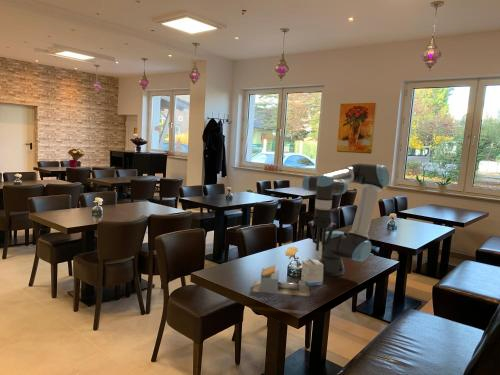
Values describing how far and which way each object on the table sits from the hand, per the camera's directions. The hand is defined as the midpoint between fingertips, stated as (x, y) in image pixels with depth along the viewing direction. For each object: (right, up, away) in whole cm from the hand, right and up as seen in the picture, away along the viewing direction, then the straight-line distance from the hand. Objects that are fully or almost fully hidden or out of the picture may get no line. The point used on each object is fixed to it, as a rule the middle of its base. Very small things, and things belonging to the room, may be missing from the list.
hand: (319, 257), depth 176 cm
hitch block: (-23, -15, +4) cm, 28 cm away
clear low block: (-13, -16, +3) cm, 21 cm away
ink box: (-1, -17, +14) cm, 22 cm away
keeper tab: (-24, -8, +3) cm, 25 cm away
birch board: (-18, -17, +4) cm, 25 cm away
